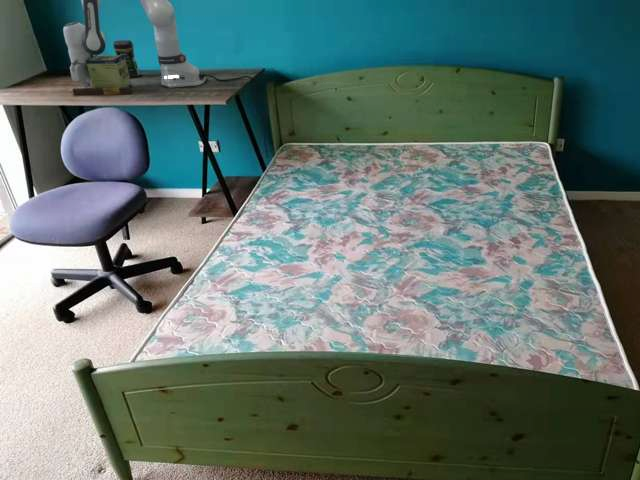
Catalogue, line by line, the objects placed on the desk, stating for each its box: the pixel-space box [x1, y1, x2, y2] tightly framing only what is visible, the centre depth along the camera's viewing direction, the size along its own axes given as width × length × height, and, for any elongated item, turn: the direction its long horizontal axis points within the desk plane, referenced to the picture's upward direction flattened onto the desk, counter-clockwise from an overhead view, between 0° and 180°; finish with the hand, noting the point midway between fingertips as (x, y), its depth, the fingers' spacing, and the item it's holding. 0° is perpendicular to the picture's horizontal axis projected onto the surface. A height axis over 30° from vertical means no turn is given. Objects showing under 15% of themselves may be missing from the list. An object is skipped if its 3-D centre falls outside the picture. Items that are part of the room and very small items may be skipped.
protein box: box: [86, 54, 133, 88], centre depth 298 cm, size 10×16×16 cm
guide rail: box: [72, 87, 132, 96], centre depth 295 cm, size 28×2×3 cm, turn 89°
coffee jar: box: [113, 39, 141, 79], centre depth 318 cm, size 10×8×19 cm
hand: (87, 86), depth 301 cm, fingers closed
